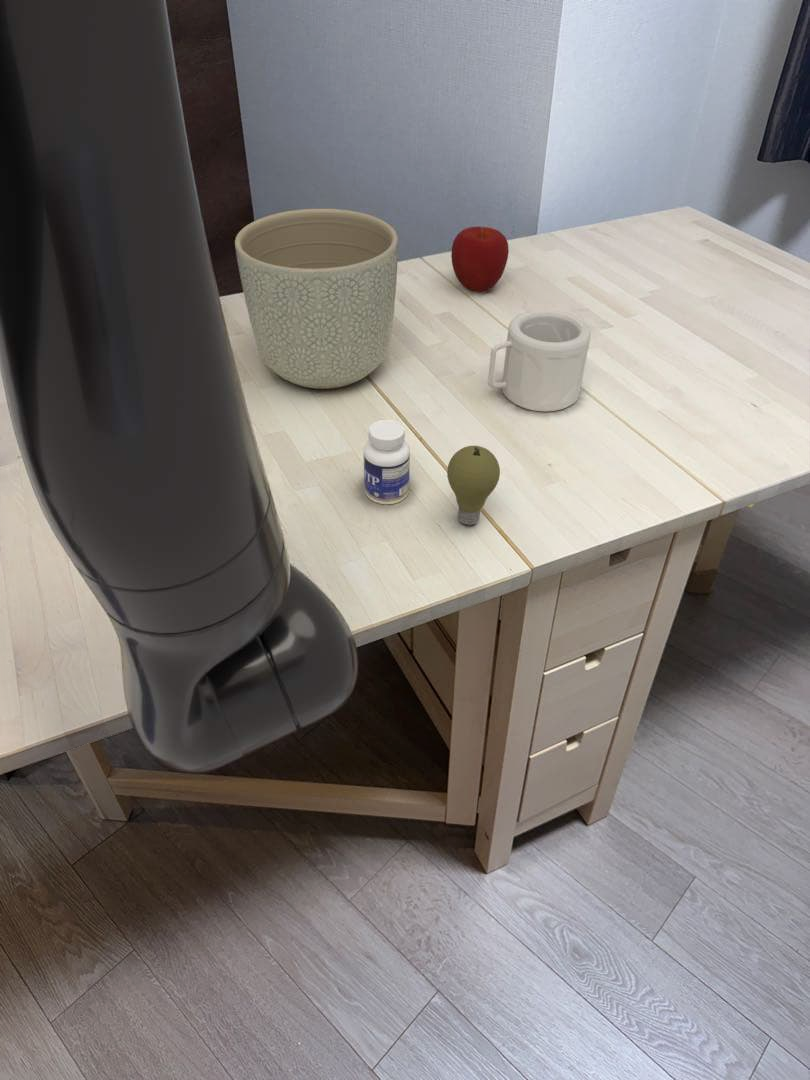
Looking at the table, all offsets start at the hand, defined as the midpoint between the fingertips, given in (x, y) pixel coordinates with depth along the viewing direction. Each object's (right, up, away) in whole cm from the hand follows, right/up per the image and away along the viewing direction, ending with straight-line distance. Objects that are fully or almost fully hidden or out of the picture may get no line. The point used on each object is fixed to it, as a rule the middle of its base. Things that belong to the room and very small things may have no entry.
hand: (110, 355), depth 56 cm
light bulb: (+29, -12, +28) cm, 42 cm away
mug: (+40, +6, +48) cm, 63 cm away
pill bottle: (+20, -8, +32) cm, 39 cm away
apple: (+35, +30, +73) cm, 86 cm away
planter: (+11, +11, +53) cm, 55 cm away
